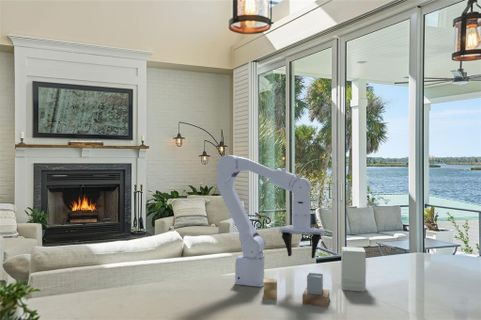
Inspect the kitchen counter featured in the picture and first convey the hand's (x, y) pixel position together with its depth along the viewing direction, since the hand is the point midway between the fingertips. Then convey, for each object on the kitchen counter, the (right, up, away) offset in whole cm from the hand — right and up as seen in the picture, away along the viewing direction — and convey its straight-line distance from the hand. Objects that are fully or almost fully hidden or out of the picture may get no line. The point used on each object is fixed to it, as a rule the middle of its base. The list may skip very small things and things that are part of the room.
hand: (301, 256), depth 138 cm
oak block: (-11, -10, -10) cm, 18 cm away
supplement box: (+17, -10, 0) cm, 20 cm away
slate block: (+2, -7, -14) cm, 16 cm away
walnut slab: (+2, -10, -14) cm, 17 cm away
